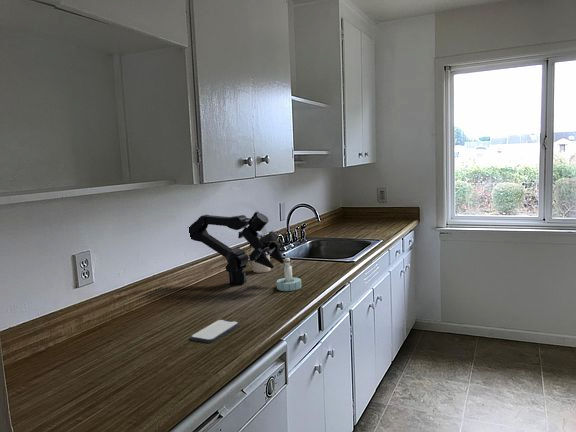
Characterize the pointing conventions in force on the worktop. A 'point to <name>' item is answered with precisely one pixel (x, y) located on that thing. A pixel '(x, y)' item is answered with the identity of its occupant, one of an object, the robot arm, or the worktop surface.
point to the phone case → (215, 331)
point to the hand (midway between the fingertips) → (278, 265)
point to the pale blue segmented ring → (288, 284)
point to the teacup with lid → (260, 266)
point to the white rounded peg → (288, 270)
